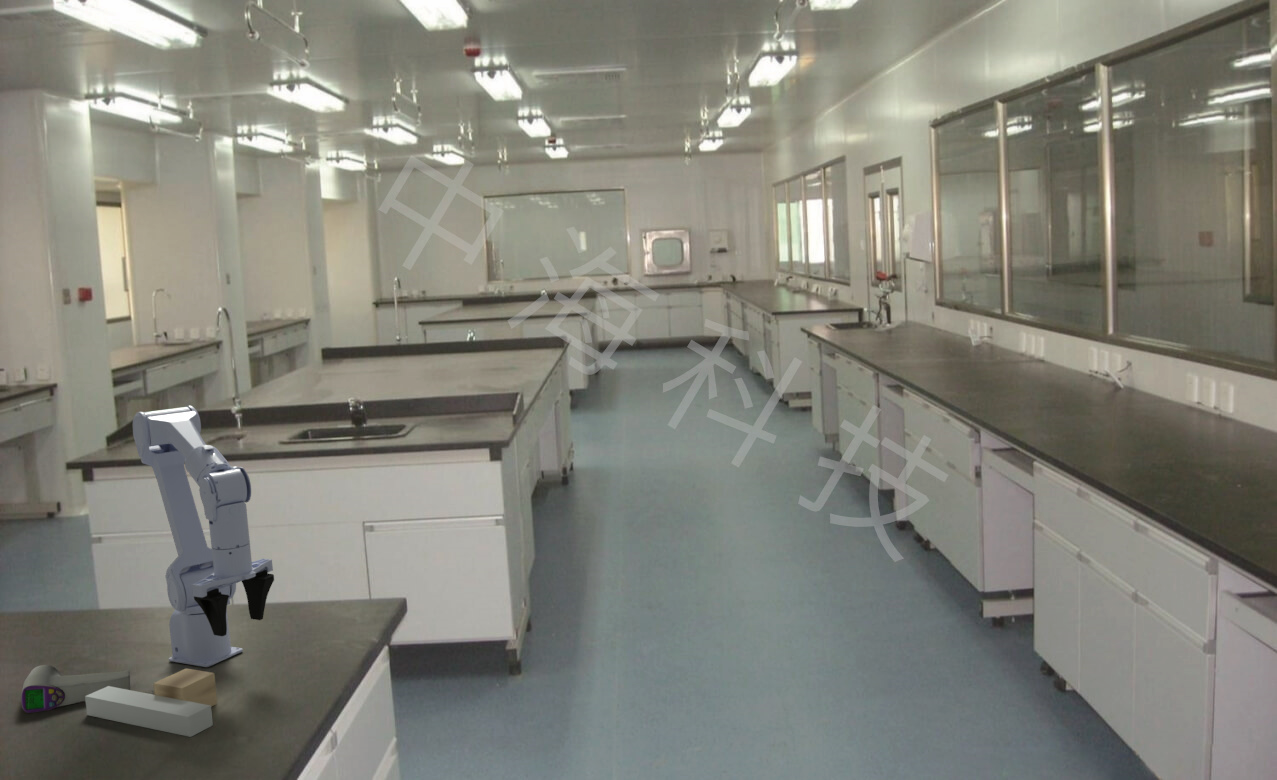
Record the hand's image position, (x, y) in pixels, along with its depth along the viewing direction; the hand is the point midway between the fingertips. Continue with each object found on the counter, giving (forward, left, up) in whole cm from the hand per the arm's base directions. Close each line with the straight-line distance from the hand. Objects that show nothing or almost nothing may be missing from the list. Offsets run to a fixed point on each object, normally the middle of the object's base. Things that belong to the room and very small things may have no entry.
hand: (238, 626), depth 168 cm
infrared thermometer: (-23, -13, -9) cm, 28 cm away
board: (-2, -17, -9) cm, 19 cm away
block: (0, -12, -9) cm, 15 cm away
